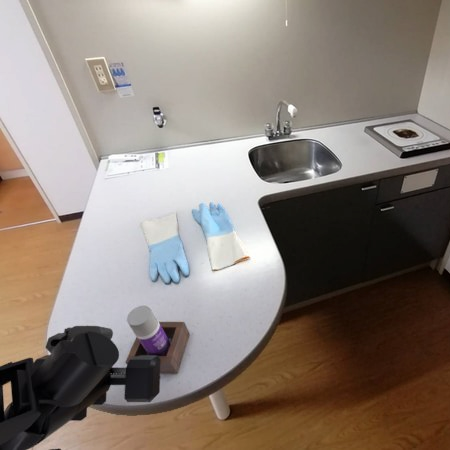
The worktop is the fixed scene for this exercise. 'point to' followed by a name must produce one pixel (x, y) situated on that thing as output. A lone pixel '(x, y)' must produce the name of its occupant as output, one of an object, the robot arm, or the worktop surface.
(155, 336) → the container
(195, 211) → the rubber gloves
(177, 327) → the frame
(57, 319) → the worktop surface
